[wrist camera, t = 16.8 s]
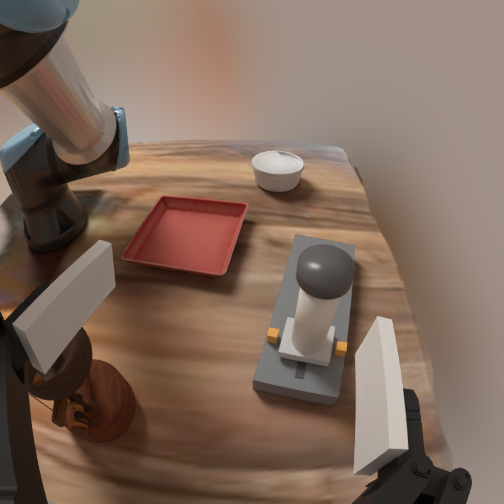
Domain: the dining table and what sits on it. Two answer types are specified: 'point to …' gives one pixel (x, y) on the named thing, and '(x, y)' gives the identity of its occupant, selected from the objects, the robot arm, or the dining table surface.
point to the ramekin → (277, 170)
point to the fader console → (297, 372)
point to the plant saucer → (188, 235)
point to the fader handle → (317, 303)
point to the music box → (84, 392)
